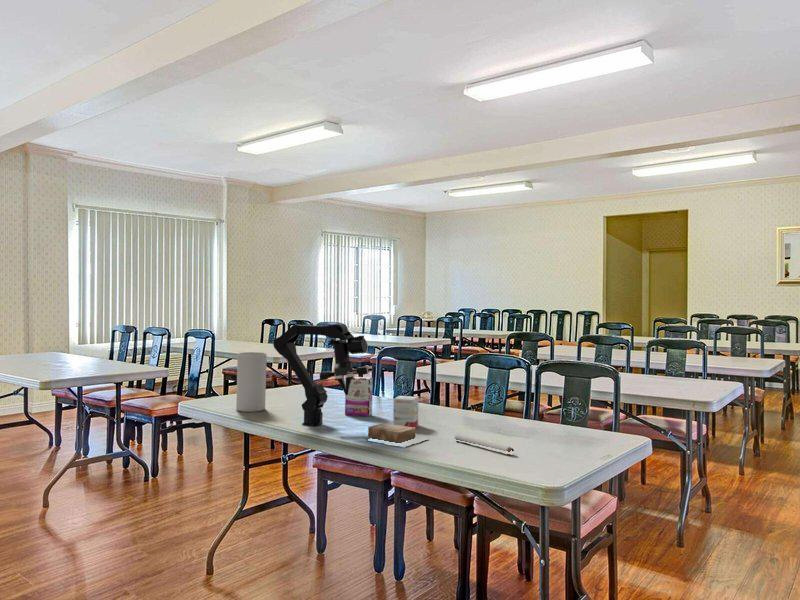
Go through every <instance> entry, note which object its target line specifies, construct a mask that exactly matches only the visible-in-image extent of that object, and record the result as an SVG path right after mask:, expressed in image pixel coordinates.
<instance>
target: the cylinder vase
mask: <svg viewBox="0 0 800 600" xmlns="http://www.w3.org/2000/svg"><path fill="white" fill-rule="evenodd" d="M267 354H268V353H267V352H261V351H259V352H258V351H256V352H254V351H252V352H251V351H249V352H247V351H246V352H245V351H244V352H238V353H237V366H236V369H237V370H236V403H235V404H236V405H235V406H236V410H237V411H239V412H242V413H258V411H259V412H263V411H264V410H265V409H266V398H267V397H266V393H267V392H266V391H267V389H266V388H267Z"/></svg>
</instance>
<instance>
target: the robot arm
mask: <svg viewBox="0 0 800 600" xmlns="http://www.w3.org/2000/svg"><path fill="white" fill-rule="evenodd" d="M301 335H306V336H307V335H309V336H310V335H311V336H312V335H313V336H323V337H327V338H330V339H331V340H330V341H329V342H328V344H327V345H328V346H333V353H334V362H335V363H334V366H333V367H334V368H333V369H334V372H333V371H332V370H326V371H322V372H320V373H319V380H320V381H321V380H322V381H324V380H329V379H330V378H334V381H337V382H338V383H339V385H340V386H341V389H342V390H343V393H344V395H348V392H349V387H350V383H351V380H352V378H354V377H356V376H355V375H359V376H362V375H368V374H369V367H368V366H359V367H356V368H355V369H354V367H353V363H352V361H351V359H350V354H351V355H356V354H365V353H367V352H368V348H369V347H368V346H369V345H368V342H367V340H366V338H365V335H358V336H354V335H353V334H352V333H351V332H350V331H349V329H348V326H347V325H346V324H345V323H334V324H328V325H314V324H313V325H311V324H309V325H307V324H300V323H299V324H298V323H297V324H292V326H291V327H289V328H288V329H287V330H286V331H285V332H284V333H282V334H281V335H280V336H279V337H277V338H275V339H274V341H273V345H272V346H273V349H275V351H276V352H277V353H278V354H279V355H281V356H282V357H283V358H284V359H285V360H286V361H287V362H288V365H289V366H290V368H291V369H292V371H293V372H294V374H295V376H296V377H297V379H298V380H299V383H300V384H301V385H302V387H303V389H304V396H305V398H306V400H304V402H303V403H302V404H301V408H302V411H303V422H302V423H301V425H302V426H313V427H317V426H320V425H321V424H323V423H324V422H323V415H324V414H323V411H322V408H323V407H324V405H325V403H326V402H327V401H328V394H327V393H328V390H326V388H325V387H324V385H323V383H319V384H317V382H315V380H314V379H313V377H312V376H311V374H310V372H309V370H308V369H307V368H306V366H305V365H304V363H303V361H302V360H301V358H300V357H299V355H298V353H297V347H296V344H295V343H296V342H297V341H298V339H299V337H300V336H301ZM344 376H346V377H344Z"/></svg>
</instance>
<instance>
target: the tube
mask: <svg viewBox="0 0 800 600" xmlns="http://www.w3.org/2000/svg"><path fill="white" fill-rule="evenodd" d="M455 439H456V440H460V441H465V442H469V443H473V444H478V445H482V446H486V447H491V448H495V449H499V450H503V451H508V452H510V451H511V450H512V451H514V452H515V450H514V448H512V447H511V446H508V445H504V444H500V443H498V442H497V443H496V442H493V441H489V440H486V439H485V440H484V439H481V438H477V437H474V436H470V435H465V434H462V433H456V434H455V436H454V440H455Z"/></svg>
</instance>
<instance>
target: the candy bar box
mask: <svg viewBox="0 0 800 600" xmlns="http://www.w3.org/2000/svg"><path fill="white" fill-rule="evenodd" d="M373 378H374V377H366V376H363V377H362V376H355V377H354V378H352V380H351V383H350V387H349V392H348V395H345V394H344V395H345V397H344V399H345V400H344V401H345V402H344V405H345V406H344V409H345V410H344V415H346V416H353V415H357V417H358V416H359V417H368V416H369V417H371V416H372V415H373V383H374V382H373Z"/></svg>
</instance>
